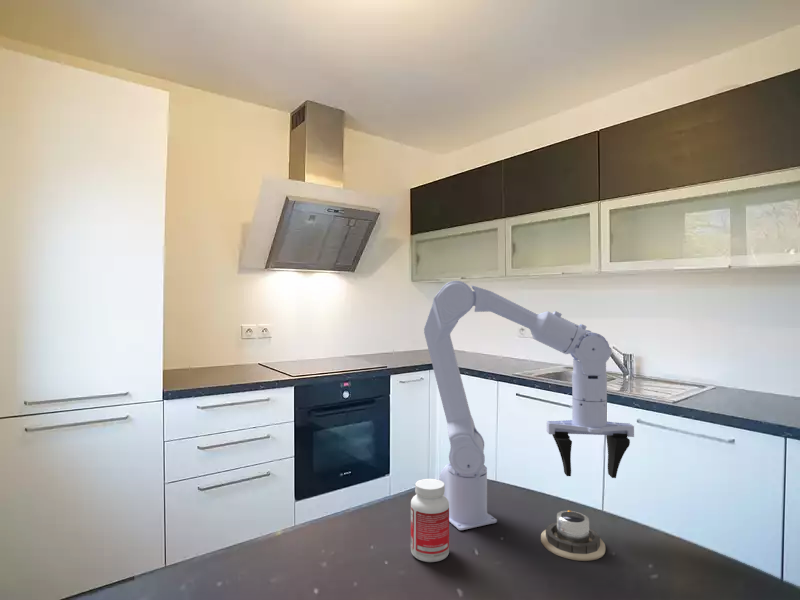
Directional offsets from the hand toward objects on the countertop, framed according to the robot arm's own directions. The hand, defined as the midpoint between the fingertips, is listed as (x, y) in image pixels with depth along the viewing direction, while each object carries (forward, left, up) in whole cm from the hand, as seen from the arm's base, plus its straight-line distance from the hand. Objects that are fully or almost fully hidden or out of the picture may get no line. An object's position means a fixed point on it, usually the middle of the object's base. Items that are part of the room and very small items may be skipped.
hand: (589, 475), depth 82 cm
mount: (+3, -7, -9) cm, 12 cm away
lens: (+3, -7, -9) cm, 12 cm away
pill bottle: (-4, -30, -10) cm, 32 cm away
